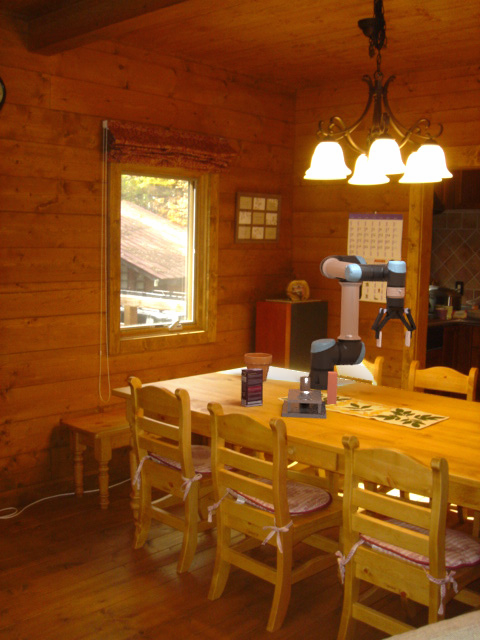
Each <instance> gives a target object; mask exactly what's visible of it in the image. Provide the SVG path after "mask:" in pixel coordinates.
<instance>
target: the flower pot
mask: <svg viewBox="0 0 480 640" xmlns="http://www.w3.org/2000/svg"><path fill="white" fill-rule="evenodd" d="M243 357H244V358H243V361H244V363H245V365H246V366H245V367H246V369H252V368H260V369H263V382H266V381H267V379H268V374H269V371H270V370H269V369H270V366H271V364H272V363H273V355H272V354H270V353H266V352H265V353H264V352H249V353H245V354H244V355H243Z"/></svg>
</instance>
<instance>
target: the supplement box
mask: <svg viewBox="0 0 480 640" xmlns="http://www.w3.org/2000/svg"><path fill="white" fill-rule="evenodd" d="M240 376H241V378H240V379H241V380H240V381H241V383H240V385H241V386H240V387H241V389H240V405H241V406H243V407H245V408H249V407H257V406H263V401H264V400H263V395H264V393H263V391H264V390H263V389H264V381H263V369H260V368H252V369H247V368H243V369H242V368H241V375H240Z"/></svg>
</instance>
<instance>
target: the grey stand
mask: <svg viewBox="0 0 480 640" xmlns="http://www.w3.org/2000/svg"><path fill="white" fill-rule="evenodd" d="M322 398H323V397H322V390H321V389H312V388H310V377H308V376H305V375H304V376H303V375H302V376H300V377H299V388H295V389H294V388H288V392H287V399H286V400H285V399H284V400H283V405H282V410H281V417H284V418H306V419H310V418H311V419H327V407H326V401H323V399H322Z"/></svg>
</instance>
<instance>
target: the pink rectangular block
mask: <svg viewBox="0 0 480 640" xmlns="http://www.w3.org/2000/svg"><path fill="white" fill-rule="evenodd" d="M338 376H339V375H338V371H334V372H328V389H327V390H326V392H327V393H326V394H327V395H326V405H328V404H336V405H337V400H338V399H337V397H338V395H337V394H338Z"/></svg>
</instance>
